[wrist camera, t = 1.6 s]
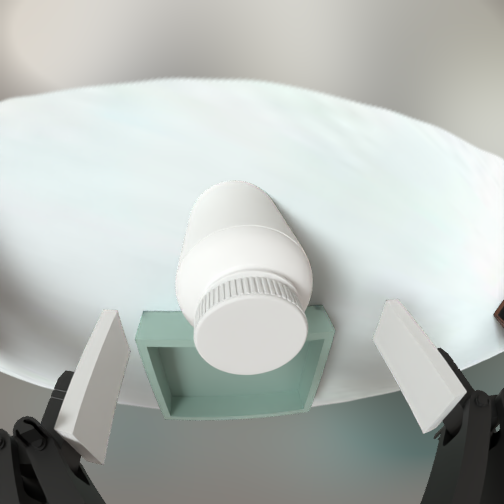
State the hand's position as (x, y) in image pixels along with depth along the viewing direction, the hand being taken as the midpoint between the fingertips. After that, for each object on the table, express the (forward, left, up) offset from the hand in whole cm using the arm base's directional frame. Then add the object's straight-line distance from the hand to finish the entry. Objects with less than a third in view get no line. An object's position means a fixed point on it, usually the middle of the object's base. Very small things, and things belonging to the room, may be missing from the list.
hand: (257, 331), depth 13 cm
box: (0, -18, -14) cm, 23 cm away
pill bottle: (0, 0, -15) cm, 15 cm away
